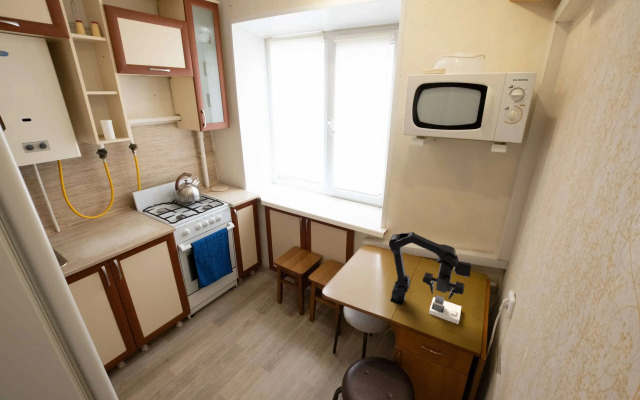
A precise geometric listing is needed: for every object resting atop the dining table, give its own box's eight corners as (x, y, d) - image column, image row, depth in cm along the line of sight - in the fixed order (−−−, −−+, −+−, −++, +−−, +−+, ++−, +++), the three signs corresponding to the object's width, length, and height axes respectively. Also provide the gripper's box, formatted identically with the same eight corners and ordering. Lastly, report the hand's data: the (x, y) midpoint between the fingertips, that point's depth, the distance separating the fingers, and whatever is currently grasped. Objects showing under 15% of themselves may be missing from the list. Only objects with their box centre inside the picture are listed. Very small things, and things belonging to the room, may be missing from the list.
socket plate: (428, 313, 143) (429, 308, 142) (432, 300, 152) (433, 295, 151) (458, 324, 137) (459, 319, 136) (460, 310, 146) (461, 305, 144)
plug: (432, 311, 144) (434, 299, 141) (433, 306, 147) (436, 295, 144) (440, 314, 142) (443, 302, 139) (442, 309, 146) (444, 297, 143)
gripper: (422, 273, 133) (418, 299, 139) (465, 286, 124) (458, 313, 130) (427, 262, 142) (422, 286, 148) (467, 273, 133) (461, 299, 139)
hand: (440, 296), depth 141 cm, fingers open, 8 cm apart
